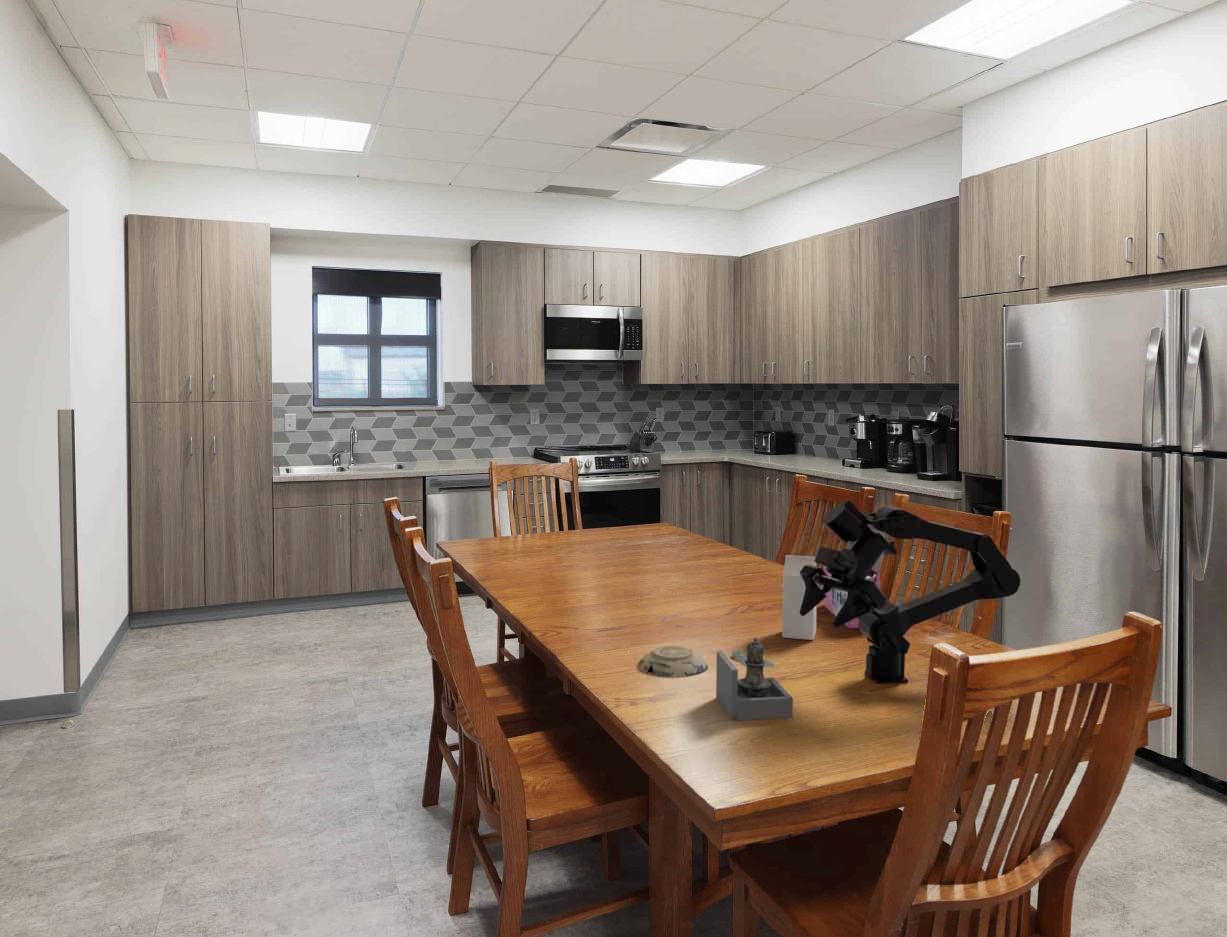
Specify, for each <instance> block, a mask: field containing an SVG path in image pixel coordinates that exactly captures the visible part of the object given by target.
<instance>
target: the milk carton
mask: <svg viewBox="0 0 1227 937" xmlns="http://www.w3.org/2000/svg"><path fill="white" fill-rule="evenodd" d="M784 556H785V559H784V565H783V566H784V567H783V576H782V578H783V579H782V581H783V582H782V632H781V634H782V635H781V636H782V638H785V639H786V638H787V639H797V640H808V641H810V640H811V641H813V640H814V639H815V636H816V632H817V606H818V605H816V606H815V607H814V608H813V609H812V610H811V611H810V612H809V613H807V614H806V615H805V616H801V614H800V613H799V612H800V609H801V605H802V601H803V598H804V594H805V588H806V587H805V582H804V581H803V580H802V576H801V575H800V574H799V573H800V571H801V570H802V568H803V567H804V566H805V565H812V566H816V567H818V566H817V565H818V563H816V562H814V561H815V558H816V556H808V555H806V556H805V555H789V554H786V555H784Z"/></svg>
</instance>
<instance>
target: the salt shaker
mask: <svg viewBox="0 0 1227 937" xmlns="http://www.w3.org/2000/svg"><path fill="white" fill-rule="evenodd" d="M746 652H747V660H746V661H745V663H746V664H747V666H746V673H745V677H743V678H739V679H740V680H739V682H738V683H739V685H740V689H741V691H742V693H743V694H744V695H745V696H744V697H743V698H762V697H764V696H766V695H767V694H768V691H769V687H770V686H771V682H770V681H768V680H766V679H764V678H765V675H764V667H763V665H764V664H765V662H764V661H763V659H764V645H763V644H762V643H760V642H758V639H757V637H754V638H753V641H752V642H749V643H748V644H747V647H746Z"/></svg>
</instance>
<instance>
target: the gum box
mask: <svg viewBox="0 0 1227 937" xmlns="http://www.w3.org/2000/svg"><path fill="white" fill-rule="evenodd" d="M826 568H827V566H825V565H823V571H824V572H825V573H826V574H827V576H828V577H831V573H828V571H827V570H826ZM872 570H873V571H874V573H875V574H874V576H873V577H869V576H867V578H866V579H865V580H869V581H873V582H875V584H876V585H877V586H878V587H879V589H880V590H881V587H880V586H881V574H880V572H879V571H877V570H876V569H874V568H873V569H872ZM847 594H848V592H845V591H841V590H838V589H835V588H831V590H830V591H829V592H827V593H825V595H826V597H825V598H824V599H823V600H822V603H823V604H822V605H824V606H825V607H824V606H823V607H824V608H826V609H828V610H827V611H829V612H830V613H831V614H832V615H833V614H834V615H835V616H834V615H833V616H834V617H836V616H837V614H838V613H839V611H840V610H841V608H842V607H843V605H844V603H845V602H846V600H847ZM859 618H860V616H859V617H857V618H855V619H852V620H851V621H849V622H847V623H845V624H844V625H845V626H846V628H848V629H859V625H858V622H859Z"/></svg>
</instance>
